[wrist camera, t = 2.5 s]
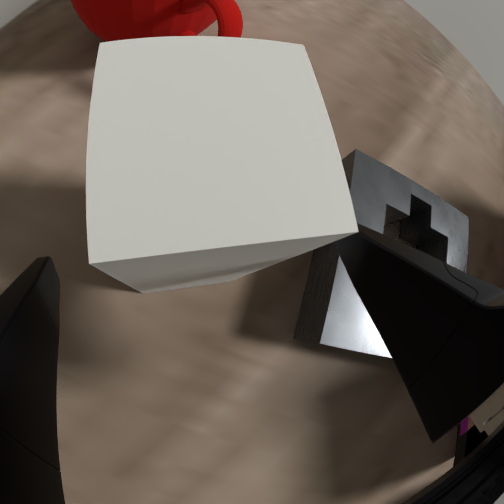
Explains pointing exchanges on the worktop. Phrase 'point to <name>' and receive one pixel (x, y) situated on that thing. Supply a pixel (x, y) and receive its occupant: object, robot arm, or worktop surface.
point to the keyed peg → (208, 161)
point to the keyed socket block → (375, 217)
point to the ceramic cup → (158, 17)
